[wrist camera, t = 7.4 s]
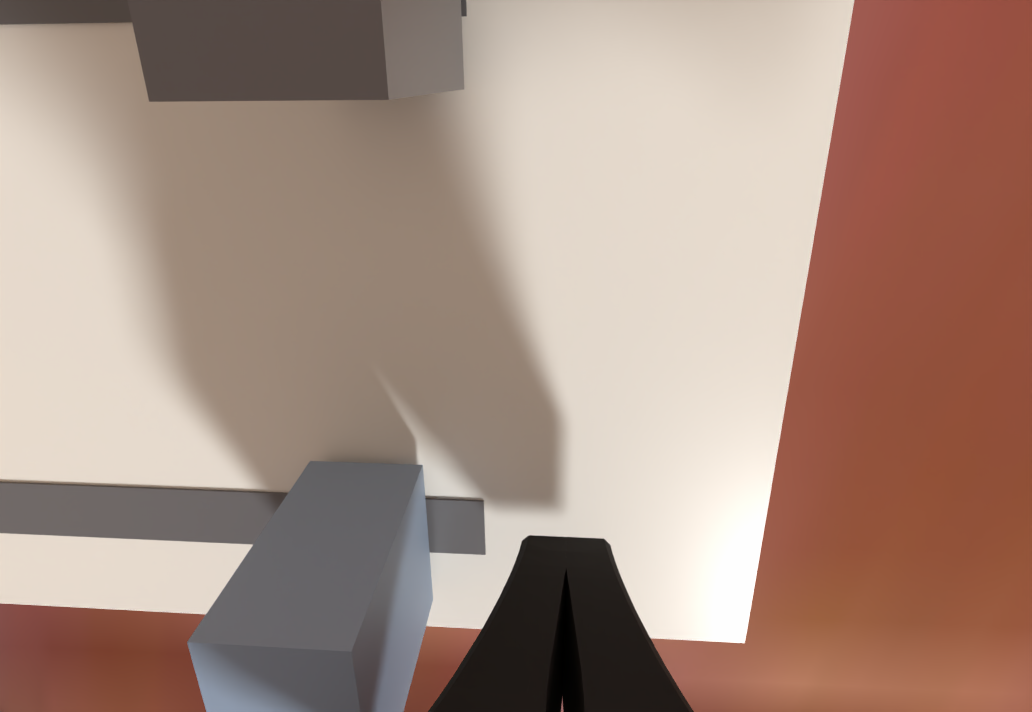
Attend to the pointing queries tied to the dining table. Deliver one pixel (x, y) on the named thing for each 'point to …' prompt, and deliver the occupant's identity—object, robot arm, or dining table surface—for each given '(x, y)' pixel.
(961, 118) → the dining table surface
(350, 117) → the switch board
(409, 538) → the grey rectangular block
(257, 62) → the gray tab
